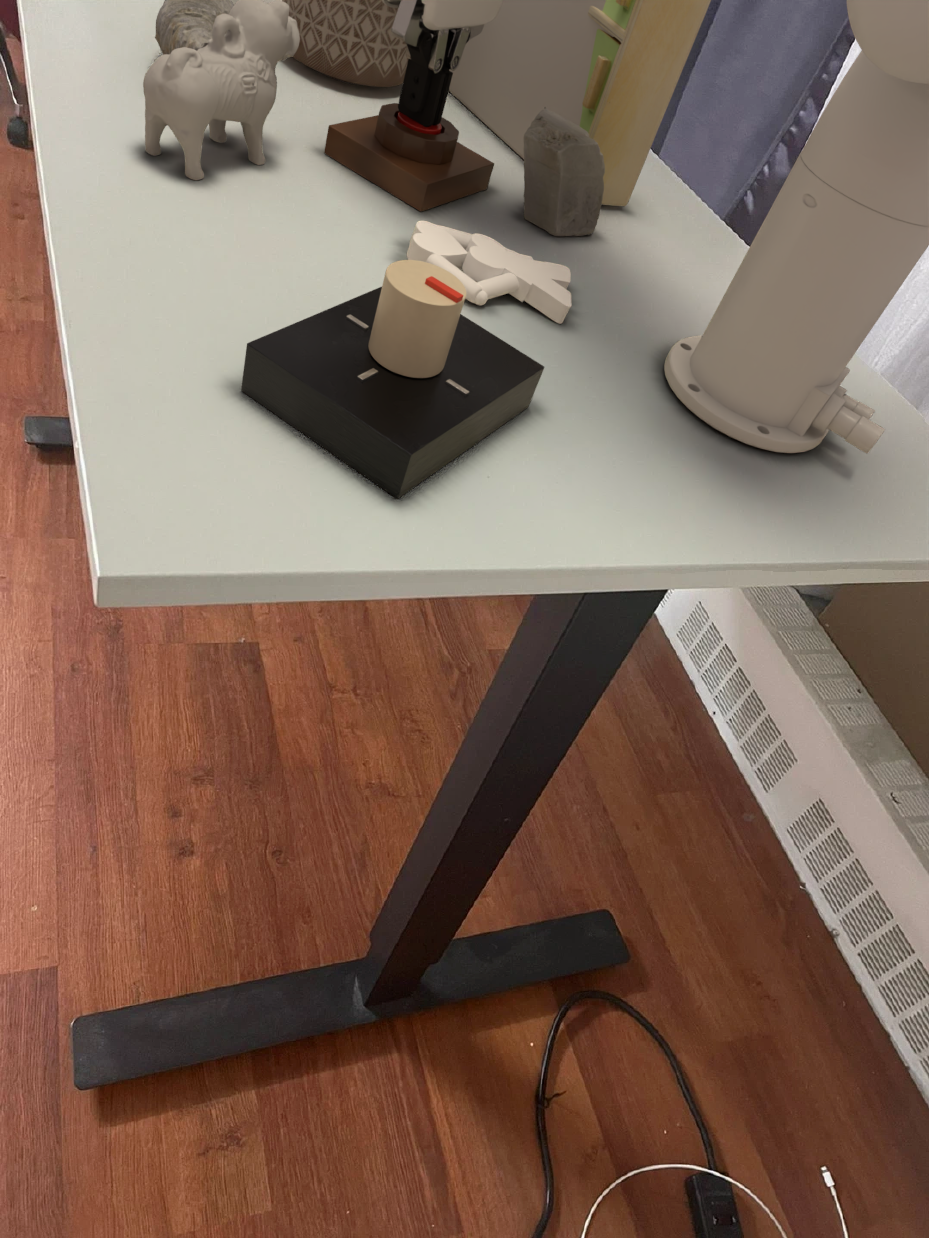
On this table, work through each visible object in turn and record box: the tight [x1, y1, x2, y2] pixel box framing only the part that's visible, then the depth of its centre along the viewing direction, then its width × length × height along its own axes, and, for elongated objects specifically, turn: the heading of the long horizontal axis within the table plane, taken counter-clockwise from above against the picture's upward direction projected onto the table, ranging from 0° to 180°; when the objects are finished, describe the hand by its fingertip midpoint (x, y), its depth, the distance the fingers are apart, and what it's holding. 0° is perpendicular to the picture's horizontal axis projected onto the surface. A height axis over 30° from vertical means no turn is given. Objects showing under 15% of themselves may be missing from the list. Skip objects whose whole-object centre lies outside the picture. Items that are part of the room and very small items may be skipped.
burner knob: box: [368, 259, 466, 378], centre depth 49 cm, size 4×4×5 cm
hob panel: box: [240, 286, 545, 499], centre depth 52 cm, size 14×11×3 cm
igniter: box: [323, 102, 495, 212], centre depth 74 cm, size 10×10×4 cm
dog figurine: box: [142, 0, 300, 181], centre depth 64 cm, size 5×13×11 cm, turn 149°
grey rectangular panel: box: [448, 0, 614, 160], centre depth 84 cm, size 29×8×18 cm, turn 31°
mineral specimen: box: [523, 107, 605, 237], centre depth 73 cm, size 7×9×8 cm
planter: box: [281, 0, 409, 88], centre depth 83 cm, size 13×13×10 cm
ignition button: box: [397, 112, 442, 135], centre depth 73 cm, size 4×4×2 cm
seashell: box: [154, 0, 235, 55], centre depth 74 cm, size 6×14×8 cm, turn 5°
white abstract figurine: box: [406, 220, 572, 325], centre depth 65 cm, size 9×12×2 cm
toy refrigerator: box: [580, 0, 712, 207], centre depth 76 cm, size 8×7×21 cm
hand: (418, 118), depth 72 cm, fingers closed
